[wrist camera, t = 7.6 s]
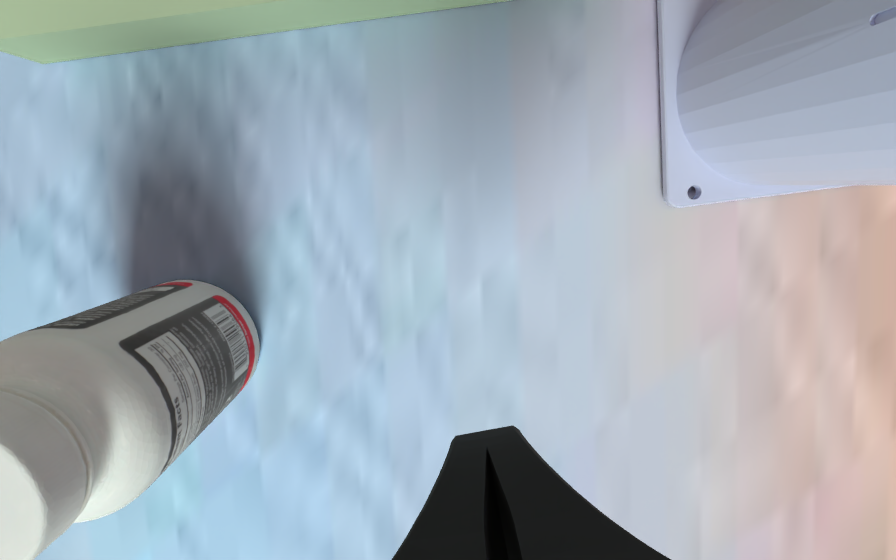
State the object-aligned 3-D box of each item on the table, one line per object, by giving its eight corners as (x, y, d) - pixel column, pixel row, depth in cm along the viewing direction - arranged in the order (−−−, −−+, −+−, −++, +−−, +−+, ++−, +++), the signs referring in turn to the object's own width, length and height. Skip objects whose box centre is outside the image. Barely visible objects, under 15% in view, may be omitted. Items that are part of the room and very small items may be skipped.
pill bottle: (119, 380, 19) (-209, 579, 9) (143, 259, 18) (-195, 343, 8) (246, 418, 19) (56, 645, 10) (278, 301, 18) (100, 426, 9)
